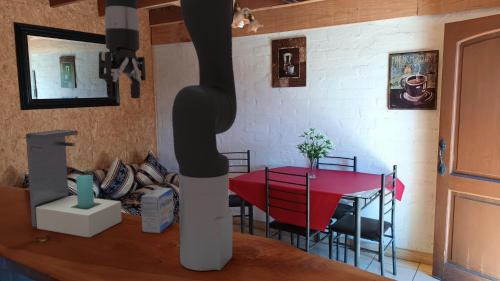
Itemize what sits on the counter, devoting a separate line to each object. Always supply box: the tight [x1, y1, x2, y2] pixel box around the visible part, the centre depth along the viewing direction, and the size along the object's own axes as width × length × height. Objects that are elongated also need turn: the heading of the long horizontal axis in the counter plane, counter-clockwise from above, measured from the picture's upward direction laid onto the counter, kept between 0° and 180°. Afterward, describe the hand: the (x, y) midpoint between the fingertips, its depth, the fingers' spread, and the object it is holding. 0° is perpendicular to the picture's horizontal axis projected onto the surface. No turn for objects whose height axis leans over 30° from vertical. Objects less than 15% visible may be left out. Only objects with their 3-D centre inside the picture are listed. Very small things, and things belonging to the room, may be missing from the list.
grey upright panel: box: [25, 129, 79, 228], centre depth 91 cm, size 5×10×22 cm, turn 161°
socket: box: [36, 194, 122, 238], centre depth 90 cm, size 15×11×5 cm
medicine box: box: [141, 187, 174, 234], centre depth 89 cm, size 8×4×9 cm, turn 168°
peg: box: [75, 174, 95, 210], centre depth 88 cm, size 4×4×12 cm
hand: (124, 98), depth 90 cm, fingers open, 8 cm apart
